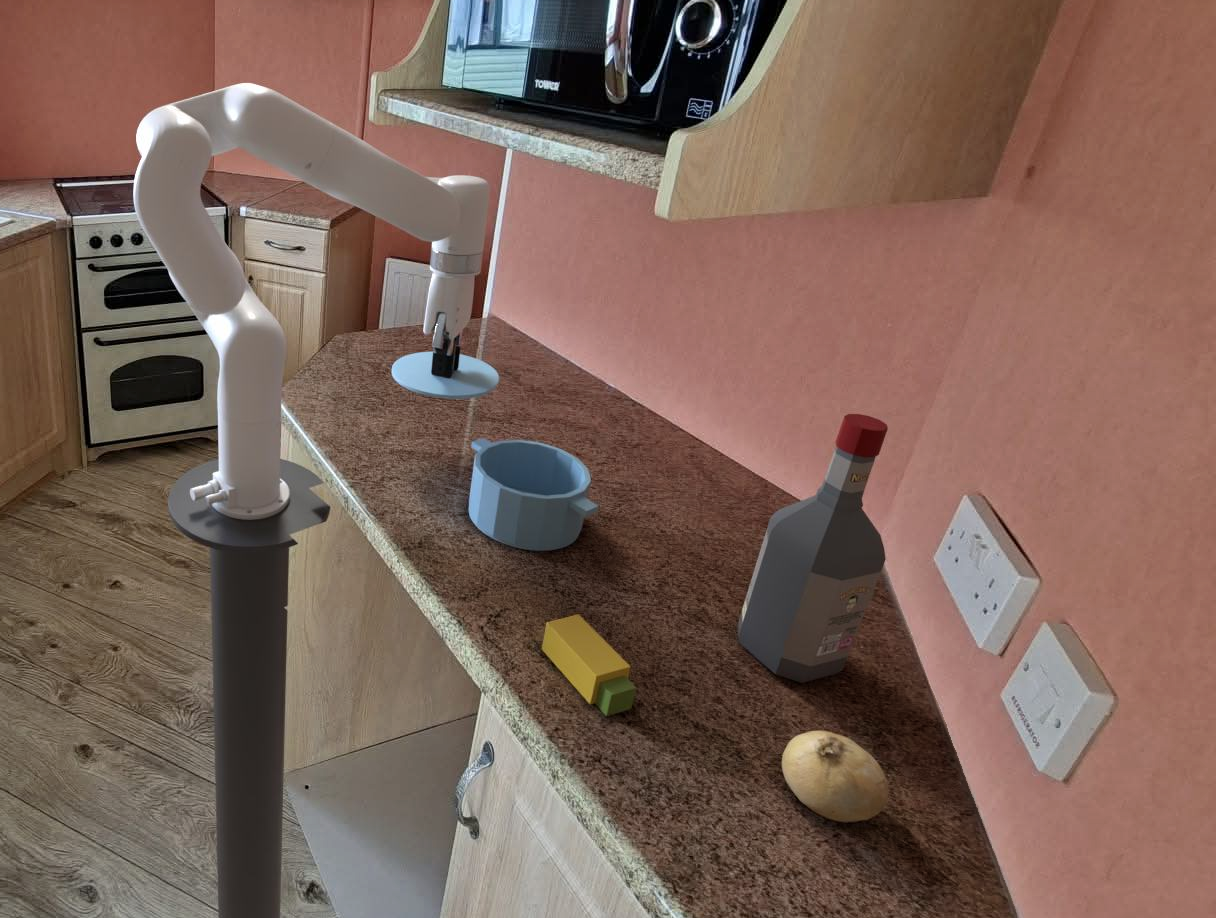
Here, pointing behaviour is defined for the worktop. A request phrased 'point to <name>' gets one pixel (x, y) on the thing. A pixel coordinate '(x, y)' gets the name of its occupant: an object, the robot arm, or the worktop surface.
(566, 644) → the corn
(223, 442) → the robot arm
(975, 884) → the worktop surface
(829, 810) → the onion
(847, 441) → the liquor
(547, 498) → the pot
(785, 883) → the worktop surface
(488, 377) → the lid
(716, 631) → the worktop surface
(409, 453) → the worktop surface
